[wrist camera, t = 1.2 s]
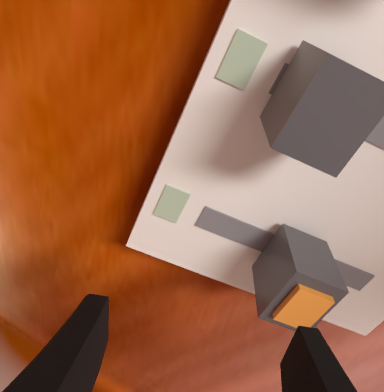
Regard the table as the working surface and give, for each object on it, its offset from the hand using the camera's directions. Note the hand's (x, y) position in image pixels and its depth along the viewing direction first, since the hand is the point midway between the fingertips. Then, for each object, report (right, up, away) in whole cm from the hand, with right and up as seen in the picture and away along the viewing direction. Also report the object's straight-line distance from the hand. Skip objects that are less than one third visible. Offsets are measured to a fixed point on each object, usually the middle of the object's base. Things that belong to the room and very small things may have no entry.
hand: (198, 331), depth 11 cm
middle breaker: (+4, +8, +2) cm, 9 cm away
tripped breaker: (+5, +1, +6) cm, 8 cm away
